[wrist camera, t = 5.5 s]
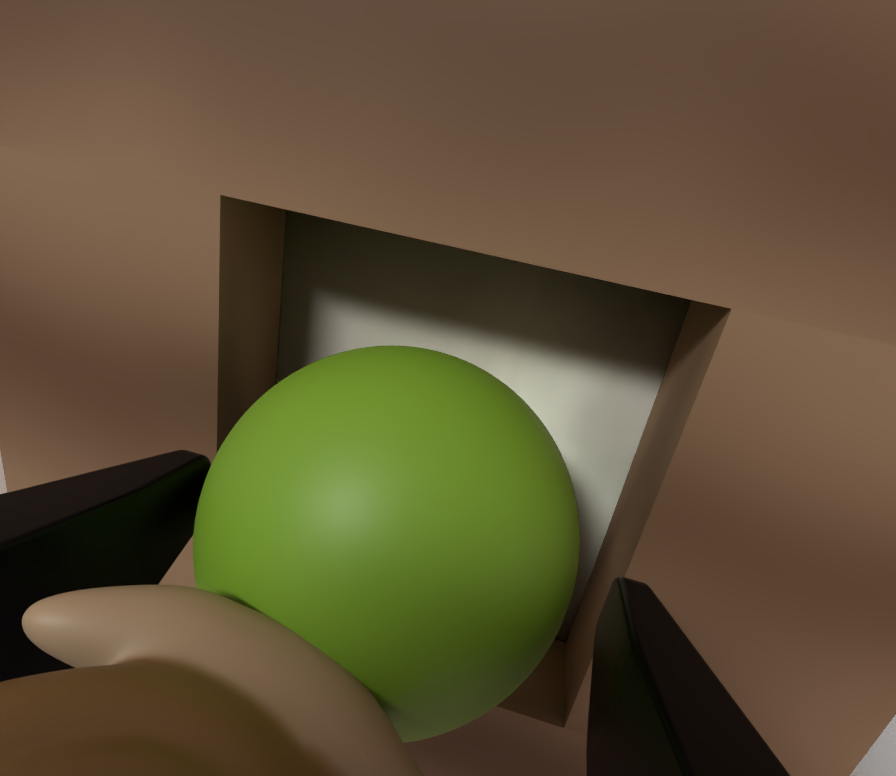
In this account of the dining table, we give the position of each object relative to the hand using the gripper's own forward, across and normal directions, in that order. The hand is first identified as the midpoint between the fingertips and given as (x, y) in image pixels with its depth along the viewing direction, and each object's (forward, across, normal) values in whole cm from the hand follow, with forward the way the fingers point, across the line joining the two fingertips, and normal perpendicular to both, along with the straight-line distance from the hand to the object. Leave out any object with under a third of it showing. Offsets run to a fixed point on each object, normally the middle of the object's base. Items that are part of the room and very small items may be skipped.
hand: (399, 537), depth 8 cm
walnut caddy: (+3, 0, 0) cm, 3 cm away
